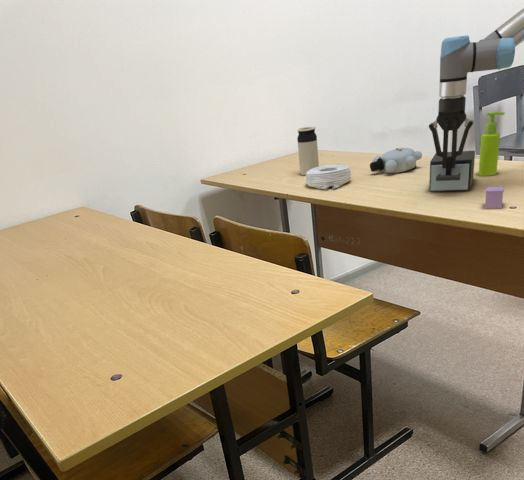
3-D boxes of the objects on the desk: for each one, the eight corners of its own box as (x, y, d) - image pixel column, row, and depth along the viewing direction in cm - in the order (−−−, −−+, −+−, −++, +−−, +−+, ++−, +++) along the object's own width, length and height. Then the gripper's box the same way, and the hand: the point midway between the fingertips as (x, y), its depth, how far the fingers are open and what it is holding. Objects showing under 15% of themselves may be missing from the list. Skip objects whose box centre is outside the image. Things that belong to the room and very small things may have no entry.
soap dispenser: (497, 175, 182) (503, 113, 173) (476, 175, 186) (480, 114, 176) (501, 171, 186) (506, 110, 177) (480, 172, 190) (485, 111, 180)
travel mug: (307, 176, 220) (304, 130, 212) (296, 174, 226) (292, 129, 218) (323, 172, 224) (319, 126, 215) (311, 170, 230) (308, 126, 221)
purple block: (502, 204, 154) (503, 186, 151) (501, 208, 150) (503, 190, 148) (485, 204, 155) (487, 187, 153) (484, 208, 152) (486, 191, 150)
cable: (332, 191, 193) (331, 174, 190) (296, 188, 204) (294, 172, 201) (360, 179, 203) (359, 163, 200) (323, 177, 215) (322, 162, 212)
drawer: (466, 193, 165) (467, 167, 161) (428, 194, 169) (428, 169, 165) (470, 179, 179) (472, 155, 175) (435, 180, 184) (436, 157, 180)
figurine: (407, 161, 218) (363, 175, 216) (405, 140, 214) (360, 154, 212) (430, 168, 203) (383, 183, 201) (428, 145, 199) (380, 160, 197)
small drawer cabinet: (469, 190, 171) (471, 159, 166) (429, 191, 175) (430, 161, 171) (473, 179, 182) (475, 150, 177) (435, 181, 187) (435, 152, 182)
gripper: (476, 93, 156) (471, 175, 168) (431, 97, 161) (428, 176, 173) (475, 96, 150) (469, 180, 162) (427, 100, 156) (425, 182, 167)
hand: (448, 178), depth 167 cm, fingers closed
